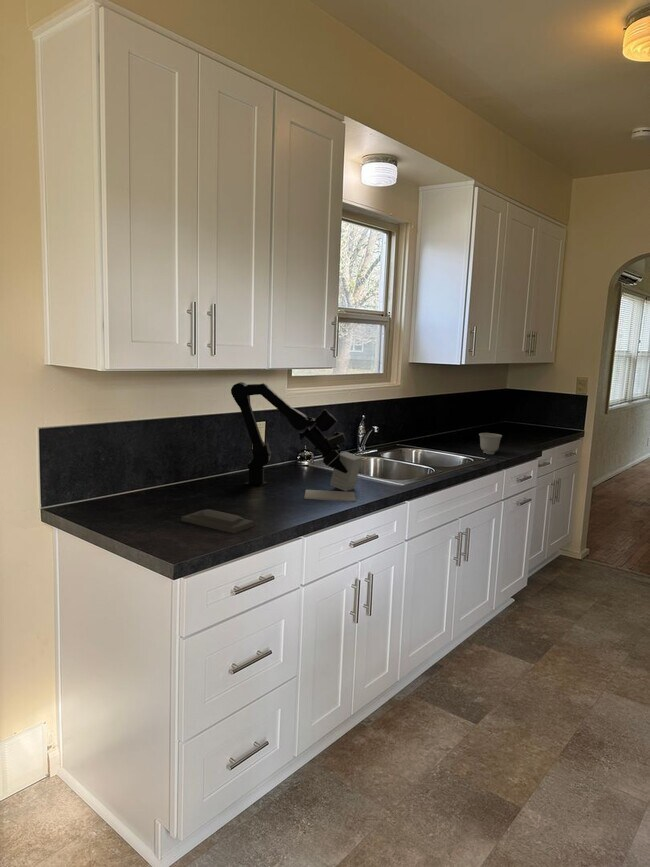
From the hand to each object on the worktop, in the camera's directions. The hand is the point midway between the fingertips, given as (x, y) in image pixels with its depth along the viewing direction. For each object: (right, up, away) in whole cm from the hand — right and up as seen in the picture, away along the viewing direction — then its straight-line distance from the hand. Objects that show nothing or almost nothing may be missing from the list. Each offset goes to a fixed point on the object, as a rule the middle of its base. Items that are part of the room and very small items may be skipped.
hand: (346, 470), depth 246 cm
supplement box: (-2, -7, +1) cm, 7 cm away
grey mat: (-6, -9, -11) cm, 15 cm away
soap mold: (-40, -14, -50) cm, 66 cm away
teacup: (+78, +3, +98) cm, 125 cm away
